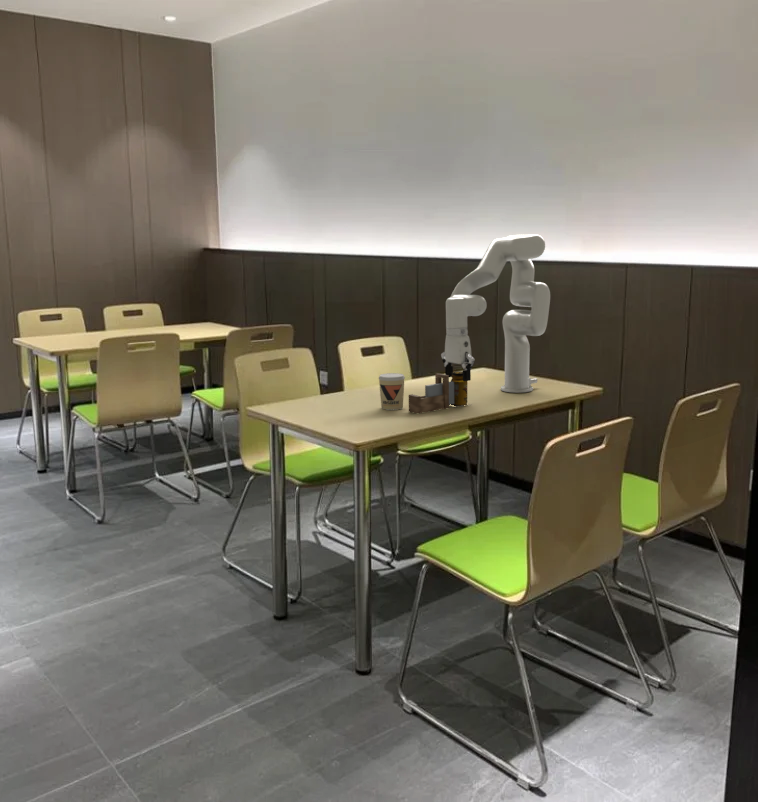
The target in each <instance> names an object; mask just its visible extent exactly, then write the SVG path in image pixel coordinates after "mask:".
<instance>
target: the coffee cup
mask: <svg viewBox="0 0 758 802" xmlns="http://www.w3.org/2000/svg"><path fill="white" fill-rule="evenodd" d="M405 378H406V377H405V375H404V374H403V373H400V372H399V373H398V372H397V373H395V372H387V373H380V375H379V376H378V381H379V383H378V384H379V396H380V404H381V405H380V406H381V409H382V410H384V409H386V410H385V411H398V410H397V409H400V410H402V409H403V408H404V394H405V393H404V392H405V380H406V379H405Z"/></svg>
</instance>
